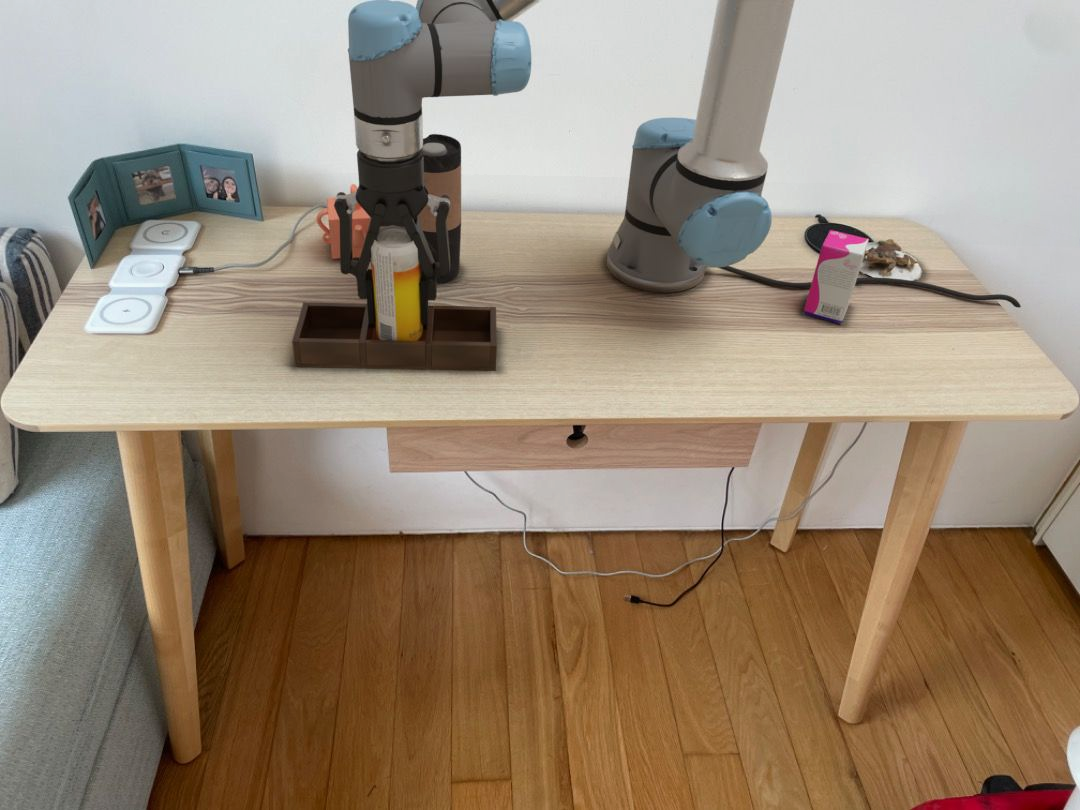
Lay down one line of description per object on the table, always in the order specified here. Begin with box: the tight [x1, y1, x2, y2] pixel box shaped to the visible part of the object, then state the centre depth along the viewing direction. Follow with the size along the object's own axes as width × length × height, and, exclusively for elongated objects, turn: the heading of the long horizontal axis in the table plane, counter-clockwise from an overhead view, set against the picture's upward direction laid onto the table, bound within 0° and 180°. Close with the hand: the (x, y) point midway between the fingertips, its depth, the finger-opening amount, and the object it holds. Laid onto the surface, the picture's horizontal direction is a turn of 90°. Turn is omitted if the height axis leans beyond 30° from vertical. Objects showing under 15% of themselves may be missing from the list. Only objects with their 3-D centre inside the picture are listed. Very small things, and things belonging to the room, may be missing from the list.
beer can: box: [370, 225, 423, 341], centre depth 114 cm, size 6×6×15 cm
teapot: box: [316, 183, 385, 259], centre depth 137 cm, size 12×15×8 cm
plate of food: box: [859, 238, 923, 281], centre depth 145 cm, size 12×12×4 cm
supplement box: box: [803, 229, 870, 325], centre depth 131 cm, size 6×6×12 cm
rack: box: [291, 301, 498, 372], centre depth 119 cm, size 26×9×4 cm, turn 93°
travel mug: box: [418, 133, 462, 285], centre depth 130 cm, size 8×8×20 cm
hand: (398, 318), depth 117 cm, fingers closed on beer can, 6 cm apart
